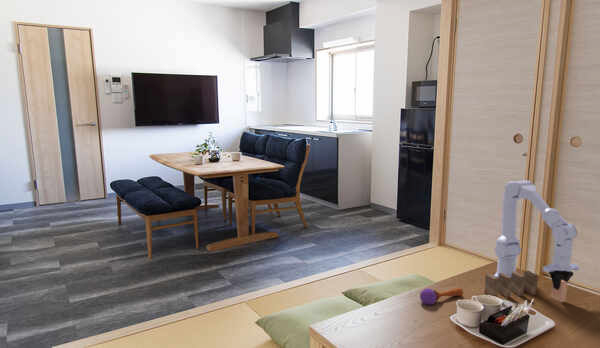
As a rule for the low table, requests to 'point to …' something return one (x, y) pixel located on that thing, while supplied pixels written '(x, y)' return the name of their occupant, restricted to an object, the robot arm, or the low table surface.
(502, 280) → the walnut domino
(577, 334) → the low table surface
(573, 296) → the low table surface
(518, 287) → the walnut domino
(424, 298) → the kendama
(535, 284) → the walnut domino
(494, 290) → the walnut domino
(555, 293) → the terracotta domino
